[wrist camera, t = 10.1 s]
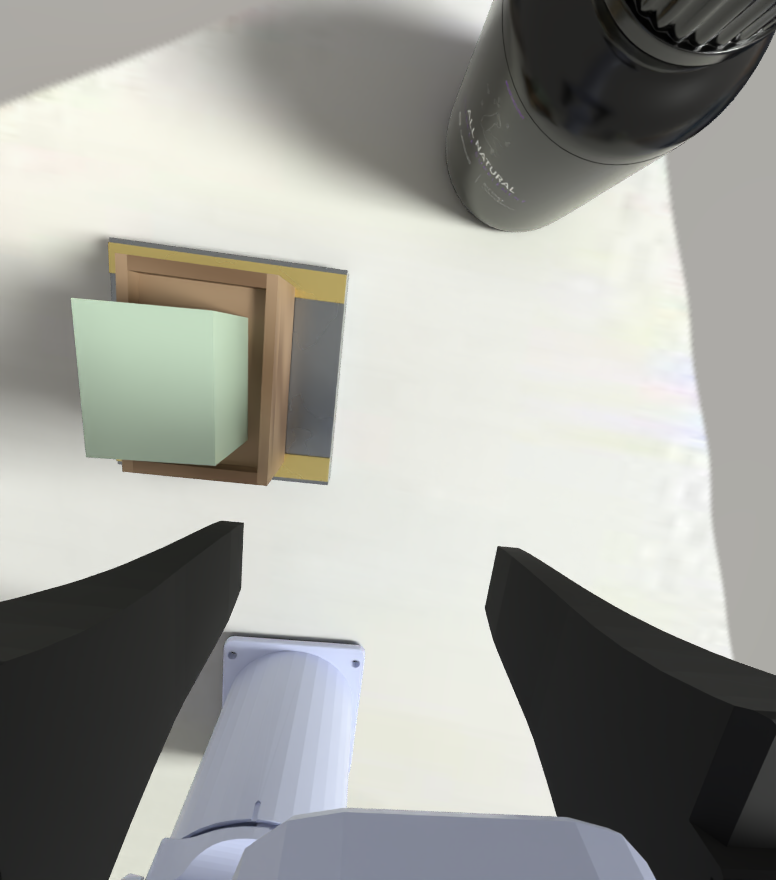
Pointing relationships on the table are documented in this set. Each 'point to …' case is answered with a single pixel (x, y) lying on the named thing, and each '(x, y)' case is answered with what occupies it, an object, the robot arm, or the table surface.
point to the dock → (310, 352)
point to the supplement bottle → (591, 96)
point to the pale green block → (161, 381)
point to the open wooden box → (268, 353)
